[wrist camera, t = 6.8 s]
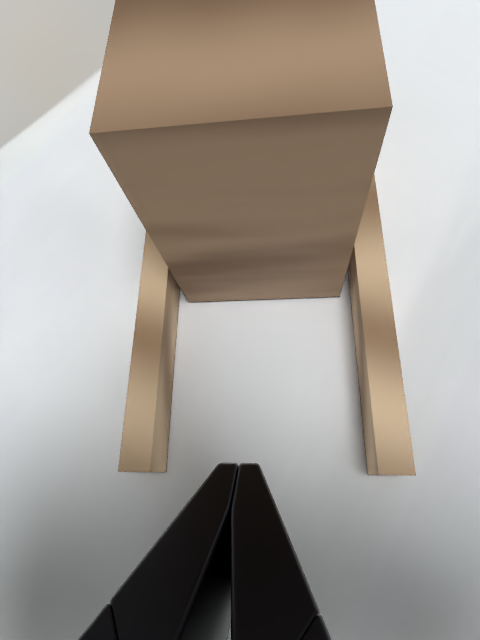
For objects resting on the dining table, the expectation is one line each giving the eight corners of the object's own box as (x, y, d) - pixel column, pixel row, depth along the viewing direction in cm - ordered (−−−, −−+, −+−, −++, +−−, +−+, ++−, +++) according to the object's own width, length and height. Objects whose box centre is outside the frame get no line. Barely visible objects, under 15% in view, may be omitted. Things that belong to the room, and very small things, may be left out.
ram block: (339, 296, 18) (392, 106, 9) (188, 302, 19) (89, 133, 9) (328, 173, 20) (361, -76, 11) (196, 182, 21) (124, -43, 12)
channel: (400, 475, 15) (628, 477, 5) (137, 471, 16) (-117, 467, 6) (348, 61, 23) (394, -259, 13) (176, 79, 24) (96, -202, 14)
